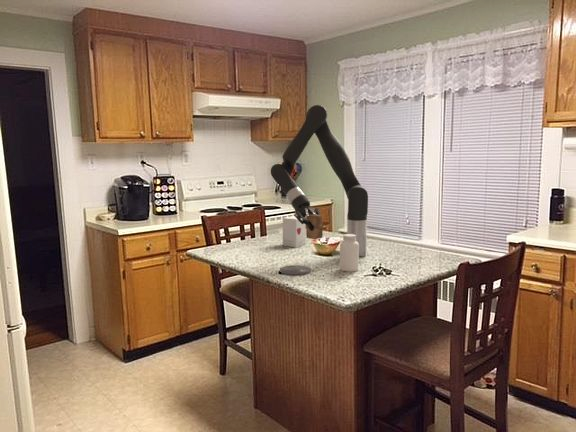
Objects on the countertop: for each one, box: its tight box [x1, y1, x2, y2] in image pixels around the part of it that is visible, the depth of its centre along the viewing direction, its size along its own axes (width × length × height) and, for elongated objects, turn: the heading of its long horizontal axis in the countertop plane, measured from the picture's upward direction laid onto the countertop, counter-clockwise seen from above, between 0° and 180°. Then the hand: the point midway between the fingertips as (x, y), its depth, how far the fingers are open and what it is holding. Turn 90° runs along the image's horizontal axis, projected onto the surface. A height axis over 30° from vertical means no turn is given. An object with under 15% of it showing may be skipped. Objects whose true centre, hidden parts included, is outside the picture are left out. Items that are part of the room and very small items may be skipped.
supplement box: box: [282, 215, 306, 248], centre depth 253 cm, size 9×9×15 cm
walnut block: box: [305, 214, 324, 240], centre depth 210 cm, size 5×5×10 cm
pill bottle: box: [339, 233, 360, 273], centre depth 202 cm, size 8×8×15 cm
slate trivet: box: [279, 264, 312, 276], centre depth 201 cm, size 13×13×1 cm
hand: (317, 228), depth 209 cm, fingers closed on walnut block, 5 cm apart
